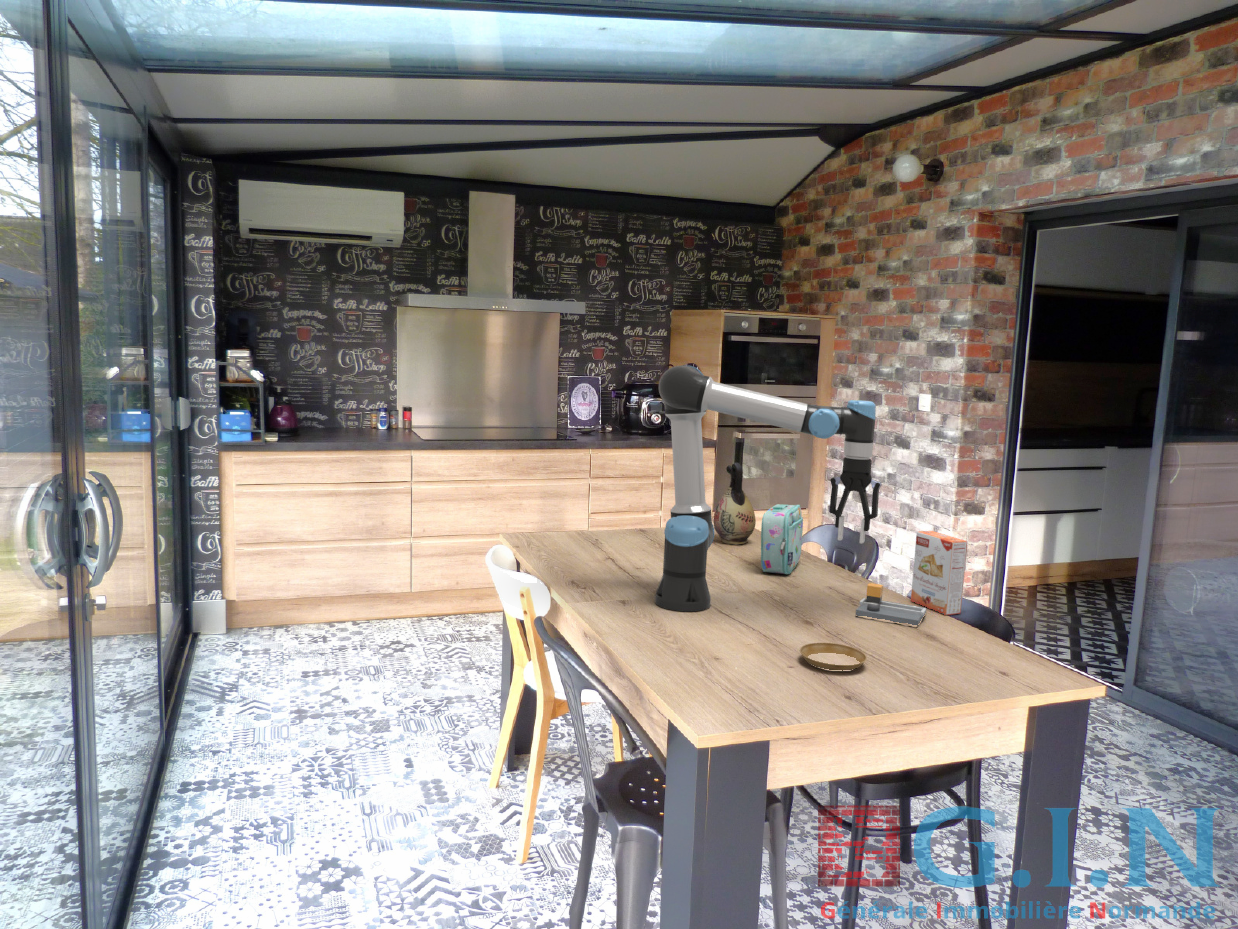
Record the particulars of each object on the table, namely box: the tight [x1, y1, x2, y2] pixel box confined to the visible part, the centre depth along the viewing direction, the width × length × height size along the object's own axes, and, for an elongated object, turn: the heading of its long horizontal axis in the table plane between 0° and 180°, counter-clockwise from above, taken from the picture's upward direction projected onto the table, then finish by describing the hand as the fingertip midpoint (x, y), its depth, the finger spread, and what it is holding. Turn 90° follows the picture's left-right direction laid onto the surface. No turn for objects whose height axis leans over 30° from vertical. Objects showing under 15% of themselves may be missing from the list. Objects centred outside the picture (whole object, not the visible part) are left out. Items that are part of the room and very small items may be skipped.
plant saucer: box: [799, 642, 868, 671], centre depth 199 cm, size 15×15×3 cm
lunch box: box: [760, 503, 804, 575], centre depth 286 cm, size 27×10×21 cm, turn 160°
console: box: [855, 597, 928, 627], centre depth 238 cm, size 14×17×4 cm
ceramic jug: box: [712, 462, 756, 546], centre depth 321 cm, size 17×15×30 cm
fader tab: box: [866, 582, 884, 605], centre depth 241 cm, size 3×4×5 cm
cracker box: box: [910, 530, 968, 616], centre depth 247 cm, size 14×6×21 cm, turn 23°
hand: (850, 540), depth 243 cm, fingers open, 5 cm apart
